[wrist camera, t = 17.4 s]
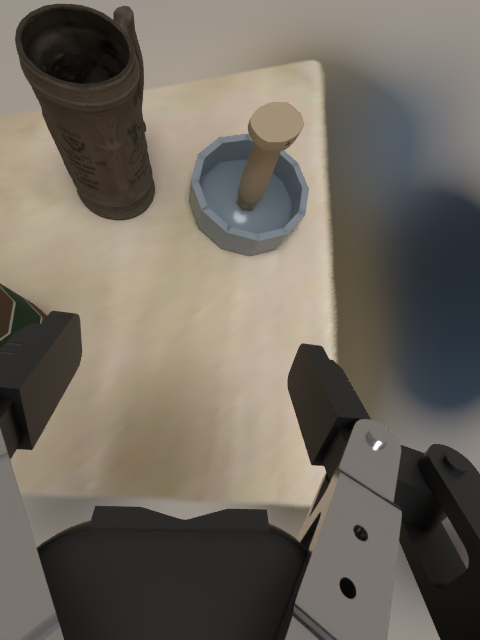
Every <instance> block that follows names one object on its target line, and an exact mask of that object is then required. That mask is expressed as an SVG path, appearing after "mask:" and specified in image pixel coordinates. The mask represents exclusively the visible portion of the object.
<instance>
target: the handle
mask: <svg viewBox="0 0 480 640" xmlns="http://www.w3.org/2000/svg"><path fill="white" fill-rule="evenodd" d="M303 126H304V122H303V118H302V116H301V115H300V113H299V112H298V111H297V110H296V108H294V107H293V106H292V105H290V104H288V103H285V102H272V103H268V104H266V105H264V106H261V107H260V108H258V109H257V110H256V111H255V112H254V114H253V115H252V117H251V118H250V121H249V125H248V132H249V135H250V137H251V139H252V140H253V141H254V146H253V148H252V151H251V153H250V156H249V158H248V161H247V163H246V166H245V168H244V170H243V173H242V176H241V180H240V184H239V189H238V197H237V204H238V205H240V207H241V209H242V210H253V209H254V208H255V207H256V204H257V203H258V202H259V201H260V199H261V198H262V196H263V194H264V193H265V191H266V189H267V186H268V184H269V182H270V179H271V176H272V174H273V171H274V168H275V165H276V163H277V160H278V157H279V155H280V152H281V151H282V150H285V149H287V148H288V147H289V146H290V145H291V144H293V142H294V141H295V140H296V138H297V137H298V135H299V133H300V132H301V130H302V128H303Z"/></svg>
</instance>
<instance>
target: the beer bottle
mask: <svg viewBox="0 0 480 640" xmlns="http://www.w3.org/2000/svg"><path fill="white" fill-rule="evenodd" d="M46 317H47V316H46V315H45V314H44V313H43V312H42V311H41V310H40V309H39V308H38V307H37V306H35V305H34V304H33V303H31V302H29V301H28V300H26V299H24V298H23V297H21V296H20V295H18V294H16V293H15V292H13V291H11V290H10V289H8V288H7V287H5V286H3V285H2V284H0V348H1V347H2V346H3V345H4V344H6V343H7V341H8V340H9V339H10V338H11V337H12V336H13V335H14V334H15V333H16V332H17V331H19V330H20V329H22V328H24V327H26V326H28V325H30V324H32V323H34V324H41V323H42V321H43V320H44V319H45V318H46Z"/></svg>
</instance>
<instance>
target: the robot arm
mask: <svg viewBox="0 0 480 640" xmlns="http://www.w3.org/2000/svg"><path fill="white" fill-rule="evenodd" d="M81 356H82V343H81V328H80V318H79V315H78V314H74V313H66V312H58V311H52V312H51V313H50V314H49V315H48V316H47V317H46V318H45V319H44V320H43V321H42V323H41V324H34V323H32V324H30V325H28V326H26V327H24V328H22V329H20V330H19V331H17V332H16V333H15V334H14V335H13V336H12V337H11V338H10V339H9V340H8V341H7V343H6V344H4V345H3V346H2V347H1V348H0V640H387V636H388V627H389V619H390V610H391V602H392V594H393V585H394V577H395V568H396V561H397V552H398V544H399V541H400V544H401V546H402V548H403V551H404V553H405V556H406V558H407V561H408V563H409V565H410V568H411V570H412V572H413V575H414V577H415V580H416V582H417V584H418V587H419V589H420V592H421V594H422V596H423V599H424V601H425V604H426V606H427V608H428V611H429V613H430V616H431V618H432V620H433V623H434V625H435V628H436V630H437V632H438V635H439V637H440V639H441V640H480V474H479V472H478V471H477V470H476V468H475V467H474V466H473V465H472V463H471V462H470V461H469V460H468V459H467V458H465V457H464V456H463V455H462V454H460V453H459V452H457V451H456V450H454V449H452V448H450V447H448V446H445V445H441V444H433V445H431V446H430V447H429V449H428V450H427V451H426V452H425V453H422V452H419V451H416V450H414V449H411V448H408V447H405V446H402V445H400V443H399V441H398V439H397V438H396V436H395V435H394V434H393V433H392V432H391V431H390V430H389V429H388V428H386V427H385V426H383V425H382V424H380V423H378V422H375V421H373V420H371V419H370V417H369V415H368V413H367V412H366V410H365V408H364V406H363V404H362V403H361V401H360V399H359V397H358V396H357V394H356V392H355V391H354V390H353V387H352V385H351V383H350V382H348V378H347V376H346V374H345V373H344V371H343V369H342V368H341V367H340V366H339V365H338V364H336V363H335V362H334V361H333V360H329V358H328V356H327V354H326V352H325V350H324V349H323V347H322V346H318V345H310V344H301V345H300V347H299V349H298V351H297V354H296V356H295V359H294V361H293V364H292V367H291V369H290V372H289V375H288V390H289V394H290V397H291V400H292V403H293V407H294V410H295V413H296V416H297V420H298V423H299V426H300V430H301V433H302V436H303V439H304V443H305V446H306V449H307V452H308V456H309V459H310V462H311V465H318V466H324V467H325V470H326V473H325V475H324V477H323V479H322V481H321V484H320V486H319V489H318V491H317V493H316V496H315V498H314V501H313V503H312V506H311V508H310V511H309V513H308V516H307V518H306V520H305V523H304V525H303V527H302V529H301V531H300V533H299V535H298V537H297V539H295V538H294V537H293V536H292V535H290V534H288V533H287V532H285V531H284V530H282V529H280V528H278V527H276V526H274V525H271V524H269V523H268V516H267V510H258V509H257V510H256V509H225V510H222V511H218V512H214V513H210V514H207V515H203V516H199V517H196V518H192V519H188V520H182V519H178V518H175V517H172V516H168V515H165V514H162V513H159V512H155V511H152V510H149V509H146V508H142V507H117V506H95V509H94V513H93V516H92V519H91V521H88V522H84V523H81V524H78V525H75V526H73V527H70V528H68V529H66V530H64V531H62V532H60V533H58V534H56V535H55V536H53V537H52V538H50V539H48V540H47V541H45V542H44V543H42V544H41V545H40V546H39V547H37V548H36V545H35V542H34V539H33V535H32V532H31V528H30V525H29V522H28V519H27V515H26V512H25V508H24V505H23V501H22V498H21V495H20V491H19V488H18V485H17V481H16V478H15V475H14V471H13V468H12V465H11V461H10V459H11V458H12V456H13V454H14V453H15V451H16V449H27V450H33V448H34V446H35V444H36V442H37V441H38V439H39V437H40V435H41V433H42V432H43V430H44V428H45V426H46V425H47V423H48V421H49V419H50V417H51V416H52V414H53V412H54V410H55V408H56V407H57V405H58V403H59V401H60V399H61V398H62V396H63V394H64V392H65V391H66V389H67V387H68V385H69V383H70V382H71V380H72V378H73V376H74V374H75V373H76V371H77V369H78V367H79V364H80V361H81ZM447 516H448V518H449V520H450V522H451V523H452V525H453V527H454V529H455V530H456V532H457V534H458V535H459V537H460V539H461V541H462V543H463V544H464V546H465V548H466V551H467V553H468V557H469V566H468V569H467V568H466V567H465V565H464V563H463V561H462V559H461V557H460V556H459V554H458V552H457V550H456V548H455V546H454V545H453V543H452V541H451V539H450V537H449V536H448V534H447V532H446V530H445V528H444V527H443V525H442V523H441V522H442V521H443V520H444V519H445V518H446V517H447Z"/></svg>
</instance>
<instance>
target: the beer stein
mask: <svg viewBox="0 0 480 640" xmlns="http://www.w3.org/2000/svg"><path fill="white" fill-rule="evenodd" d="M15 42H16V48H17V52H18V55H19V59H20V64H21V68H22V70H23V73H24V75H25V77H26V78H27V80H28V81H29V83H30V85H31V86H32V89H33V90H34V93H35V95H36V97H37V99H38V101H39V103H40V105H41V107H42V114H43V117H44V119H45V122H46V124H47V127H48V129H49V131H50V133H51V135H52V137H53V139H54V141H55V144H56V146H57V148H58V150H59V152H60V154H61V157H62V159H63V161H64V164H65V166H66V168H67V170H68V172H69V175H70V176H71V178H72V180H73V182H74V184H75V186H76V188H77V192H78V195H79V197H80V199H81V200H82V202H83V203H84V204H85V206H86V207H88V208H89V209H90V210H91V211H92V212H94V213H96V214H97V215H99V216H102V217H105V218H110V219H128V218H132V217H135V216H137V215H139V214H141V213H142V212H144V211H145V210H146V209H147V208H148V206H149V205H150V203H151V202H152V200H153V197H154V193H155V186H154V181H153V178H152V169H151V165H150V161H149V155H148V152H147V143H146V139H145V133H144V132H146V125H145V123H144V121H143V115H142V100H143V87H144V71H143V70H144V68H143V59H142V54H141V50H140V46H139V43H138V40H137V36H136V32H135V26H134V15H133V11H132V10H131V8H130V7H129V6H122V7H118V8H117V9H116V10H115V11H114V20H113V19H111V18H110V17H108V16H107V15H105V14H104V13H102V12H100V11H97V10H95V9H92V8H89V7H86V6H82V5H75V4H54V5H47V6H43V7H41V8H39V9H37V10H35V11H32V12H30V13H29V14H28V15H27V16H26V17H25V18H23V19H22V20H21V22H20V23H19V25H18V27H17V30H16V38H15Z"/></svg>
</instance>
